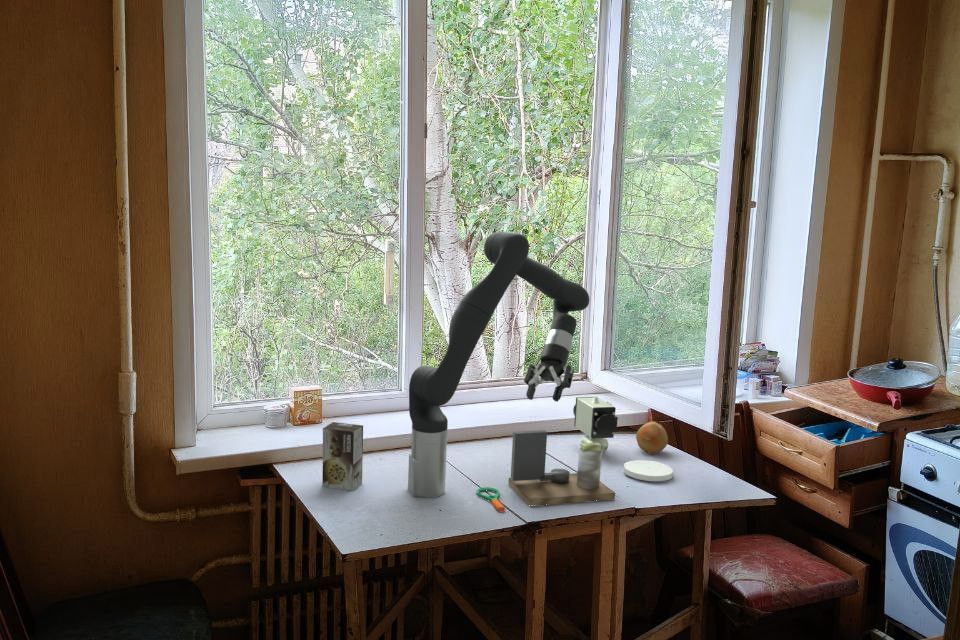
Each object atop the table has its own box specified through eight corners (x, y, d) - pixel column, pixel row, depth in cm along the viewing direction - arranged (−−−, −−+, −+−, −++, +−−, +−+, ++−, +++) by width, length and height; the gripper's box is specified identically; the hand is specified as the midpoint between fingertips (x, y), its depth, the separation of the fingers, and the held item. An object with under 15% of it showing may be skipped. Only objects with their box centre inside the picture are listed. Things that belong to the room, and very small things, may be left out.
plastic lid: (645, 465, 236) (646, 457, 235) (682, 479, 224) (683, 471, 224) (613, 473, 227) (613, 464, 227) (649, 487, 216) (650, 479, 216)
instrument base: (529, 506, 198) (532, 454, 196) (508, 484, 213) (510, 436, 211) (614, 499, 205) (618, 450, 203) (588, 479, 220) (591, 432, 218)
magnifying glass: (473, 492, 207) (473, 486, 207) (495, 490, 209) (495, 484, 208) (489, 514, 193) (489, 507, 192) (512, 512, 194) (513, 506, 194)
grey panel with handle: (514, 486, 205) (517, 435, 203) (508, 480, 210) (511, 430, 208) (572, 482, 210) (575, 432, 208) (564, 476, 215) (567, 427, 213)
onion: (632, 447, 252) (635, 417, 251) (663, 449, 252) (666, 419, 251) (637, 456, 243) (640, 425, 241) (669, 458, 242) (672, 427, 241)
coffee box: (363, 483, 208) (364, 425, 206) (352, 491, 202) (354, 431, 200) (332, 478, 211) (333, 421, 209) (320, 486, 205) (322, 427, 202)
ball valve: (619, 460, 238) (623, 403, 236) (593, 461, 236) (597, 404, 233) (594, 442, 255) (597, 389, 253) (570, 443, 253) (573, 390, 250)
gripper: (530, 342, 226) (514, 392, 219) (572, 342, 217) (557, 395, 211) (542, 354, 231) (527, 403, 225) (584, 355, 222) (570, 406, 216)
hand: (542, 399), depth 218 cm, fingers open, 8 cm apart
